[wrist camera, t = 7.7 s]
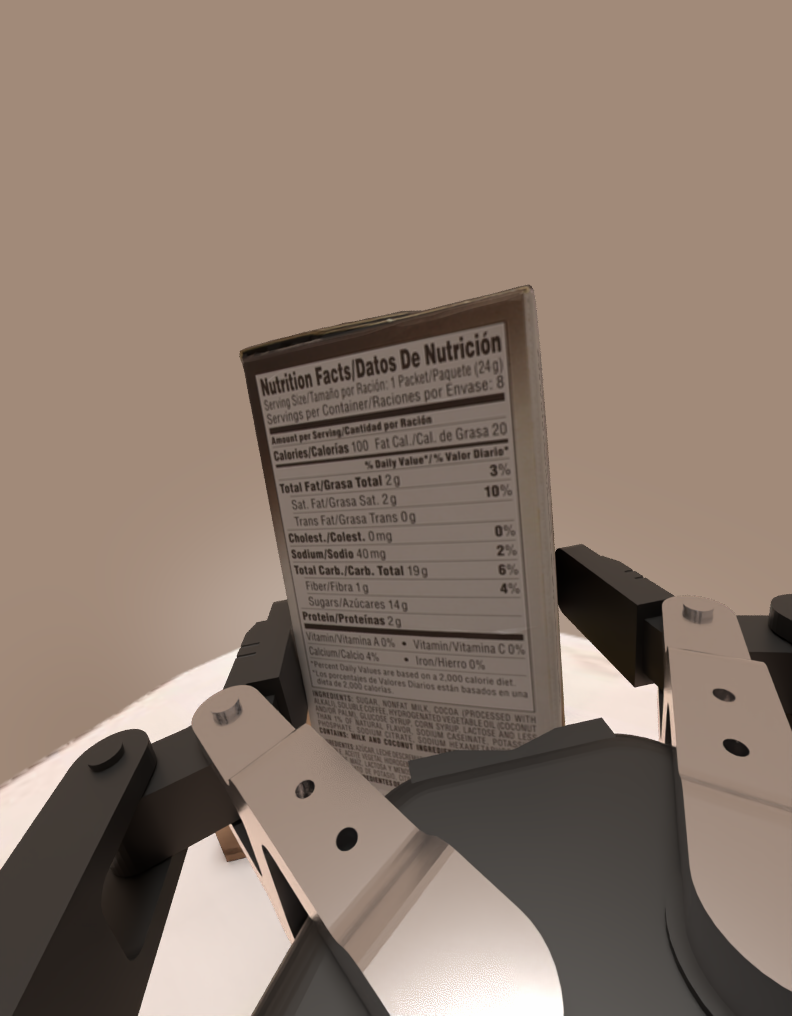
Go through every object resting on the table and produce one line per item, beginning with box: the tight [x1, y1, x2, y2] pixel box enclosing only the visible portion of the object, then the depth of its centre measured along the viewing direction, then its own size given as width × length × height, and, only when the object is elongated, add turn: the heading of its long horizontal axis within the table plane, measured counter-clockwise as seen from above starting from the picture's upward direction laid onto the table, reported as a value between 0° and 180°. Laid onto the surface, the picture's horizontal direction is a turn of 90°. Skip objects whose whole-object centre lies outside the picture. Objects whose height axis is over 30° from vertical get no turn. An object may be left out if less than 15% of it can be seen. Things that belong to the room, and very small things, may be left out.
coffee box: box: [239, 285, 565, 796], centre depth 13 cm, size 9×6×16 cm
